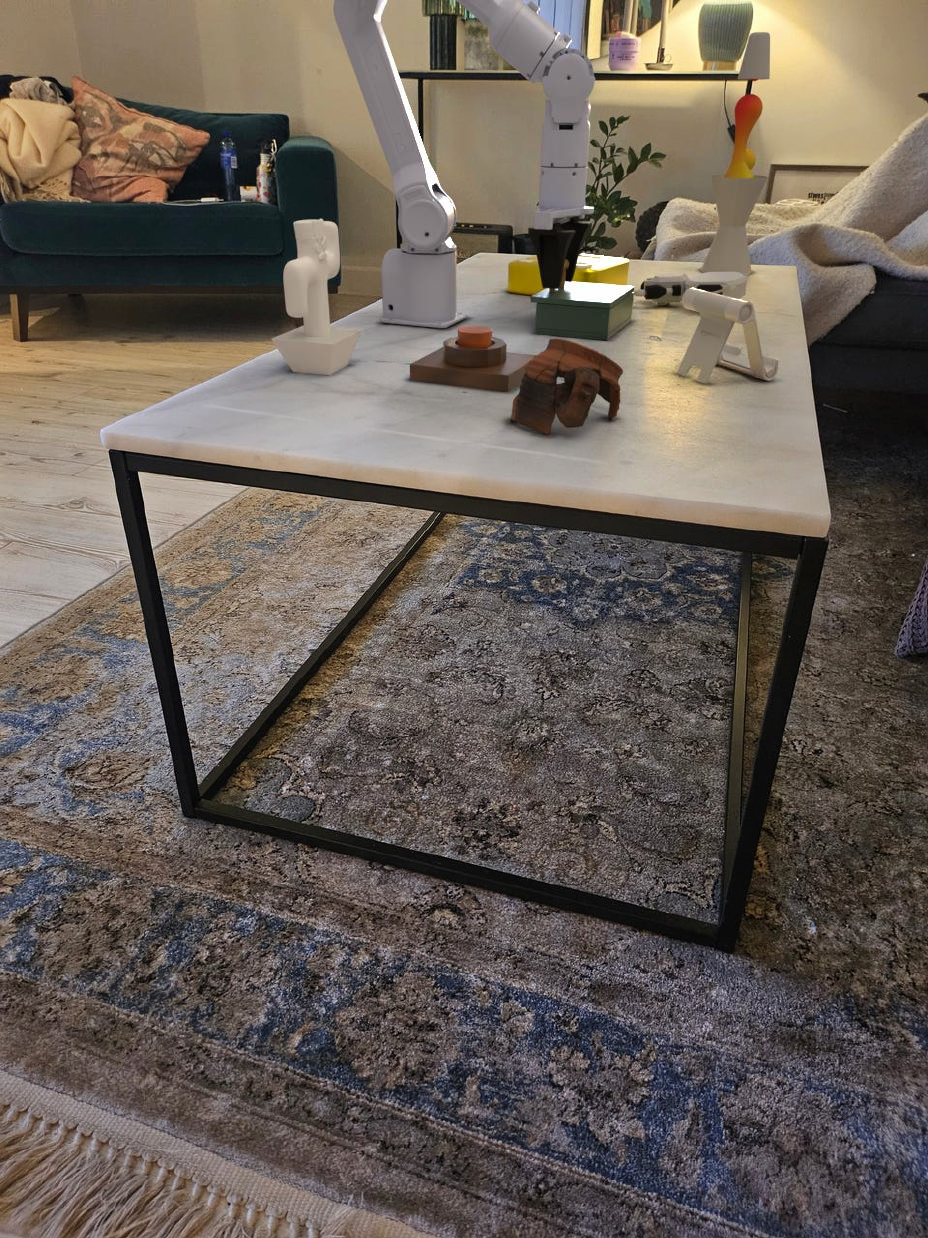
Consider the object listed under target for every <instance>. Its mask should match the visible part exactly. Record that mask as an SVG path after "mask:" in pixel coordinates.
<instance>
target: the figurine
mask: <svg viewBox="0 0 928 1238" xmlns="http://www.w3.org/2000/svg"><path fill="white" fill-rule="evenodd" d="M292 224H293V230H294V235H295V241H296V249H297V250H296V251H297V258H294V259H292V260H289V261H287V263H286V264H285V266H284V269H283V278H282V279H283V281H282V282H283V292H284V302H285V311H286V313H287V315H288V316H290V317H291V318H297V319H299V318H302V319H303V325H301V326H299V327H296V328H294V329H292V330H289V331H287V332H284V333H282V334H279V335H277V336H274V337H272V338H271V339H270V340H271V341H272V343H273V344H274V346H275V347H276V349H277V351H278V353H280V354H281V356H282V357H283V359H284V360H285V362H286V363H287V365H288V367H289V368H290V369H291V371H292V372H293V373H294V372H295V373H304V374H312V375H323V376H330V375H332V374H334V373H336V372H338V371H340V370H342V369H343V368H345V367H347V366H348V365H349V363H350V361H351V358H352V355H353V353H354V351H355V349H356V346H357V344H358V342H359V340H360V337H361V336H362V333H363V329H355V328H342V327H331V319H330V305H329V291H328V280H331V279H333V278H335V277H337V275H338V274H339V272H340V267H341V252H340V251H341V250H340V238H339V237H340V235H339V228H338V225H337V224H336V222H334V221H330V220H324V219H323V218H319V219H302V220H296V221H293V223H292Z"/></svg>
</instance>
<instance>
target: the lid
mask: <svg viewBox="0 0 928 1238" xmlns="http://www.w3.org/2000/svg"><path fill="white" fill-rule="evenodd" d="M568 267H569V261H568V260H567V259H565V263H564V270H563V275H562V280H561V284H560V287H559V288H558V289H551V288H547V289H545V290H543V291H541V292H539V293H537V294H535V295H530V303H535V304H537V303H546V304H558V305H570V306H582V307H594V308H606V309H610V308H611V307H613V306H614V305H616V304H617V303H618V302H620V301H621V300H623V299H624V298H626V297H627V296H629V295H630V294H631V293H633V292H634V291H635V286H633V285H627V286H621V285H608V284H594V283H580V282H565V279H566V269H568Z"/></svg>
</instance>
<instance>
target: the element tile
mask: <svg viewBox="0 0 928 1238" xmlns="http://www.w3.org/2000/svg"><path fill="white" fill-rule="evenodd" d="M629 268H630V260H629V259H628V258H624V257H614V256H604V255H595V254H587V253H580V254H579V258H578V261H577V265H576V269H575V273H574V276H573V279H572V282H580V283H594V284H608V285H621V286H628V279H629ZM507 269H508V270H507V291H508V292H509V293H512V294H518V295H527V296H533V295H535V294H537V293H539V292H541V291H543V290H545V289H547V288H543V287H542V283H541V278H540V271H539V265H538V260H537V255H536V254H535V255H532V256H527V257H524V258H519V259H515V260H511V261H509V262H508V268H507Z"/></svg>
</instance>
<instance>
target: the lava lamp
mask: <svg viewBox="0 0 928 1238" xmlns="http://www.w3.org/2000/svg"><path fill="white" fill-rule="evenodd" d="M770 68H771V35H770V33H769V32H767V31H756V32H751V33H750V34H749V36H748V40H747V43H746V47H745V50H744V53H743V58H742V62H741V65H740V69H739V72H738V77H737V80H741V81H742V80H745V81H748V80H750V81H752V82H757V81H758V80H762V81H763V80H770V76H771V74H770V73H771V72H770V71H771V69H770ZM763 107H764V106H763V102H762V100H761V97H759V96H758V95H756V94H754V93H747V94H745V95H743V96H741V97H740V98H739V99H738V100H737V102H736V104H735V106H734V134H735V136H734V145H733V146H734V147H733V153H732V156H731V161H730V164H729V166H728V168H727V170H726V172H725V174H713V175H711V182H712V187H713V193H714V199H715V205H716V211H717V216H718V222H719V225H718V228H717V230H716V232H715V234H714V237H713V240H712V242H711V245H710V247H709V249H708V252H707V254H706V257H705V259H704V261H703V263H702V266H701V268H700V271H701V272H700V273H706V272H739V273H742V274H745V273H750V274H749V275H751V274H752V273H753V272H752V266H751V265H752V264H751V258H750V249H749V243H748V235H747V227H746V226H747V223H748V220H749V218H750V216H751V214H752V212H753V210H754V208H755V206H756V204H757V201H758V200H759V198H760V195H761V194H762V191H763V189H764V187H765V185H766V183H767V180H768V176H764V175H757V174H756V175H755V174H753V173H752V172H751V170H752V169H754V167H755V165H756V159H757V158H756V153H754V151H753V150H752V149H748V148H747V147H748V141H749V137H750V135H751V133H752V130H753V129H754V127H755V125H756V123H757V122H758V120H759V118H760V117H761V115H762V113H763Z"/></svg>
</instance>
